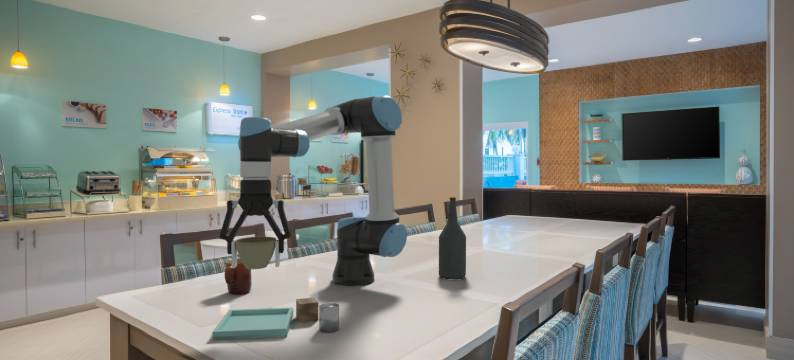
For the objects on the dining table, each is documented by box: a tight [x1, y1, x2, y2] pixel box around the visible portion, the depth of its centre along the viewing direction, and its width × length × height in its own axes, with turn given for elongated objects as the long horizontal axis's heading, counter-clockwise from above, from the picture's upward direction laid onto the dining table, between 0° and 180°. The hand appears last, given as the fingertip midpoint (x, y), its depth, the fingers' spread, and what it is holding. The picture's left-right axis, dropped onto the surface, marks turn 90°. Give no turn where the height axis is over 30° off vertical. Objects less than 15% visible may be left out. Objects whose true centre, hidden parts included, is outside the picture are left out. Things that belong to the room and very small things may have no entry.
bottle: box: [438, 196, 467, 280], centre depth 170 cm, size 10×10×30 cm
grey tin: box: [318, 302, 340, 334], centre depth 114 cm, size 5×5×6 cm
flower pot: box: [234, 236, 277, 270], centre depth 115 cm, size 10×10×7 cm
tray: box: [211, 306, 294, 341], centre depth 116 cm, size 17×17×2 cm
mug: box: [224, 258, 253, 296], centre depth 146 cm, size 12×9×10 cm
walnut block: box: [295, 297, 319, 324], centre depth 122 cm, size 5×5×5 cm
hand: (256, 266), depth 115 cm, fingers closed on flower pot, 10 cm apart
